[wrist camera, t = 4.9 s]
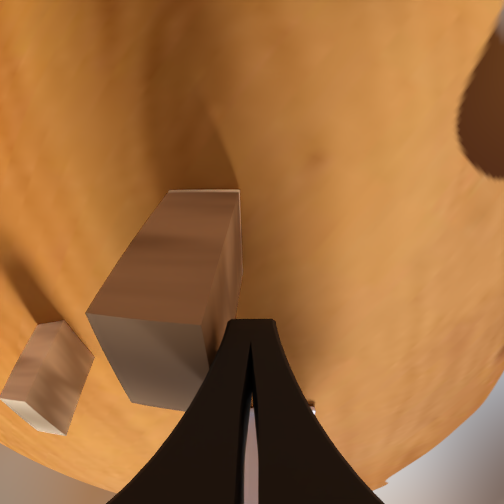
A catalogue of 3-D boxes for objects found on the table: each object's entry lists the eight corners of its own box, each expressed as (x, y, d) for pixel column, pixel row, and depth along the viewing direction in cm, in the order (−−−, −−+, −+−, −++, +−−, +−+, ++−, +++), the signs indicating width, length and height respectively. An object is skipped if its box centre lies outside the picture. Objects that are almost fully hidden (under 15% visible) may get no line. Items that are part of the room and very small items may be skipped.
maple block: (94, 357, 21) (66, 435, 16) (66, 359, 22) (37, 430, 16) (64, 320, 19) (24, 401, 13) (37, 324, 20) (-2, 398, 14)
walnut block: (243, 272, 16) (219, 415, 10) (181, 270, 17) (131, 402, 10) (239, 189, 14) (200, 325, 7) (169, 190, 14) (85, 313, 8)
